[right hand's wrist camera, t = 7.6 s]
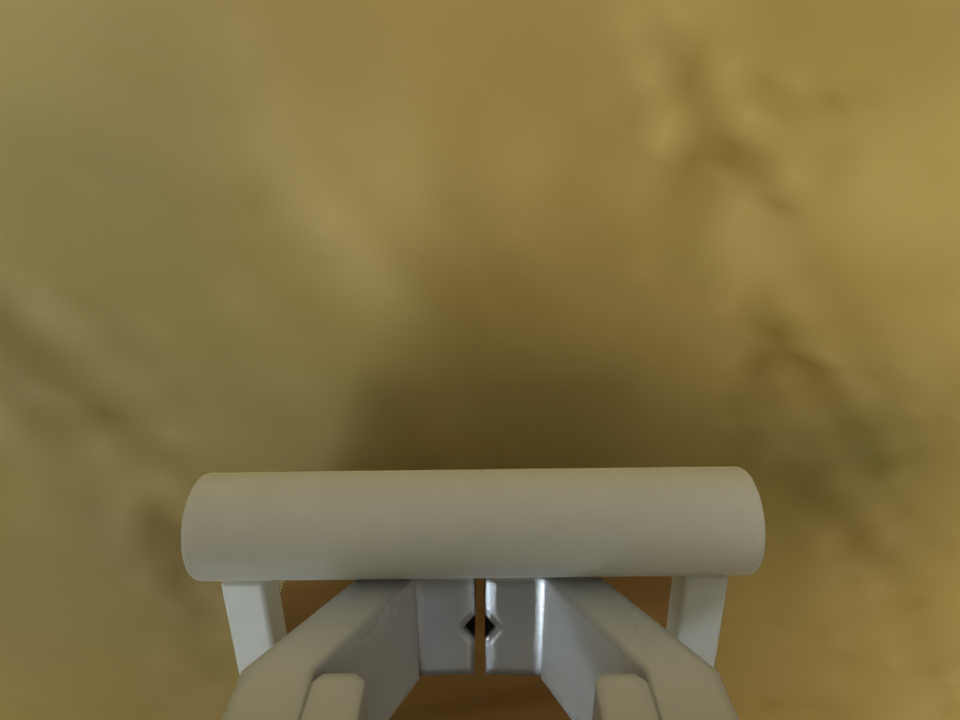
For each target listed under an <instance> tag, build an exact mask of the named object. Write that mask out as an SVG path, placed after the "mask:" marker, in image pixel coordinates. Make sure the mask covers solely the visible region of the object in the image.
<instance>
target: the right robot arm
mask: <svg viewBox="0 0 960 720" xmlns="http://www.w3.org/2000/svg"><path fill="white" fill-rule="evenodd" d="M475 607H476V578H458V579H366V580H355V581H354V582H353V583H351V584H350V585H349V586H348V587H346V588H345V589H344V590H343V591H341V592H340V593H339V594H338V595H336V596H335V597H334V598H332V599H331V600H330V601H329V602H327V603H326V604H325V605H324V606H322V607H321V608H320V609H319V610H317V611H316V612H315V613H314V614H312V615H311V616H310V617H309V618H307V619H306V620H305V621H304V622H302V623H301V624H300V625H299V626H297V627H296V628H295V629H294V630H292V631H291V632H290V633H289V634H287V635H286V636H285V637H284V638H282V639H281V640H280V641H279V642H277V643H276V644H275V645H274V646H272V647H271V648H270V649H269V650H267V651H266V652H265V653H264V654H262V655H261V656H260V657H259V658H257V659H256V660H255V661H254V662H252V663H251V664H250V665H248V666H247V667H246V668H245V669H243V670H242V672H241V674H240V677H239V679H238V681H237V684H236V686H235V688H234V691H233V693H232V695H231V697H230V700H229V702H228V704H227V707H226V709H225V711H224V714H223V716H222V718H221V720H389V719H390V718H391V716H392V715H393V714H394V712H395V711H396V710H397V708H398V707H399V706H400V704H401V703H402V702H403V700H404V699H405V697H406V696H407V695H408V693H409V692H410V691H411V689H412V688H413V687H414V685H415V684H416V683H417V681H418V680H419V676H434V675H469V674H475ZM484 607H485V674H490V675H525V676H541V679H542V681H543V682H544V683H545V685H546V686H547V687H548V689H549V690H550V691H551V693H552V694H553V696H554V697H555V698H556V700H557V701H558V702H559V704H560V705H561V706H562V708H563V709H564V710H565V712H566V713H567V714H568V716H569V717H570V718H571V720H739V718H738V716H737V713H736V711H735V709H734V706H733V704H732V702H731V699H730V697H729V695H728V692H727V690H726V688H725V685H724V683H723V681H722V678H721V676H720V674H719V671H717V670H716V669H715V668H714V667H712V666H711V665H710V664H709V663H707V662H706V661H705V660H704V659H702V658H701V657H700V656H699V655H697V654H696V653H695V652H694V651H692V650H691V649H690V648H689V647H687V646H686V645H685V644H684V643H682V642H681V641H680V640H679V639H677V638H676V637H675V636H674V635H672V634H671V633H670V632H669V631H667V630H666V629H665V628H664V627H662V626H661V625H660V624H659V623H657V622H656V621H655V620H654V619H652V618H651V617H650V616H649V615H647V614H646V613H645V612H644V611H642V610H641V609H640V608H639V607H637V606H636V605H635V604H634V603H632V602H631V601H630V600H629V599H627V598H626V597H625V596H624V595H622V594H621V593H620V592H619V591H617V590H616V589H615V588H614V587H612V586H611V585H610V584H609V583H607V582H606V581H605V580H604V579H602V578H592V577H550V578H484Z"/></svg>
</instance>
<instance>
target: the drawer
mask: <svg viewBox="0 0 960 720" xmlns="http://www.w3.org/2000/svg"><path fill="white" fill-rule="evenodd" d="M765 541H766V530H765V518H764V512H763V507H762V502H761V499H760V495H759V492H758V489H757V487H756V485H755V483H754V481H753V479H752V477H751V476H750V475H749V473H748V472H747V471H745V470H744V469H742V468H740V467H736V466H719V467H634V468H550V469H466V470H381V471H297V472H213V473H208V474H205V475H203V476H202V477H200V478H199V479H198V480H197V481H196V483H195V484H194V486H193V488H192V489H191V491H190V494H189V496H188V499H187V502H186V505H185V509H184V513H183V519H182V527H181V550H182V557H183V561H184V565H185V567H186V570H187V572H188V573H189V575H190V576H191V577H192V578H194V579H196V580H198V581H222V584H221V585H222V591H223V596H224V601H225V606H226V611H227V616H228V621H229V626H230V631H231V636H232V641H233V646H234V651H235V656H236V661H237V666H238V671H239V676H240V674H241V672H242V670H243V669H245V668H246V667H247V666H248V665H250V664H251V663H252V662H254V661H255V660H256V659H257V658H259V657H260V656H261V655H262V654H264V653H265V652H266V651H267V650H269V649H270V648H271V647H272V646H274V645H275V644H276V643H277V642H279V641H280V640H281V639H282V638H284V637H285V636H286V635H287V634H289V633H290V632H291V631H292V630H294V629H295V628H296V627H297V626H299V625H300V624H301V623H302V622H304V621H305V620H306V619H307V618H309V617H310V616H311V615H312V614H314V613H315V612H316V611H317V610H319V609H320V608H321V607H322V606H324V605H325V604H326V603H327V602H329V601H330V600H331V599H332V598H334V597H335V596H336V595H338V594H339V593H340V592H341V591H343V590H344V589H345V588H346V587H348V586H349V585H350V584H351V583H353V582H354V581H355V580H366V579H458V578H476V607H475V674H469V675H434V676H419V680H418V681H417V683H416V684H415V685H414V687H413V688H412V689H411V691H410V692H409V693H408V695H407V696H406V697H405V699H404V700H403V702H402V703H401V704H400V706H399V707H398V708H397V710H396V711H395V712H394V714H393V715H392V716H391V718H390V719H389V720H571V718H570V717H569V716H568V714H567V713H566V712H565V710H564V709H563V708H562V706H561V705H560V704H559V702H558V701H557V700H556V698H555V697H554V696H553V694H552V693H551V691H550V690H549V689H548V687H547V686H546V685H545V683H544V682H543V681H542V679H541V676H525V675H490V674H485V607H484V578H550V577H592V578H602V579H604V580H605V581H606V582H607V583H609V584H610V585H611V586H612V587H614V588H615V589H616V590H617V591H619V592H620V593H621V594H622V595H624V596H625V597H626V598H627V599H629V600H630V601H631V602H632V603H634V604H635V605H636V606H637V607H639V608H640V609H641V610H642V611H644V612H645V613H646V614H647V615H649V616H650V617H651V618H652V619H654V620H655V621H656V622H657V623H659V624H660V625H661V626H662V627H664V628H665V629H666V630H667V631H669V632H670V633H671V634H672V635H674V636H675V637H676V638H677V639H679V640H680V641H681V642H682V643H684V644H685V645H686V646H687V647H689V648H690V649H691V650H692V651H694V652H695V653H696V654H697V655H699V656H700V657H701V658H702V659H704V660H705V661H706V662H707V663H709V664H710V665H711V666H712V667H714V666H715V660H716V654H717V647H718V641H719V635H720V628H721V622H722V616H723V609H724V603H725V597H726V590H727V584H728V576H734V575H750V574H753V573H755V572H756V571H757V570H758V568H759V567H760V565H761V563H762V560H763V556H764V551H765ZM278 580H285V583H284V585H283V587H282V590H281V592H280V588H279V582H278Z"/></svg>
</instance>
